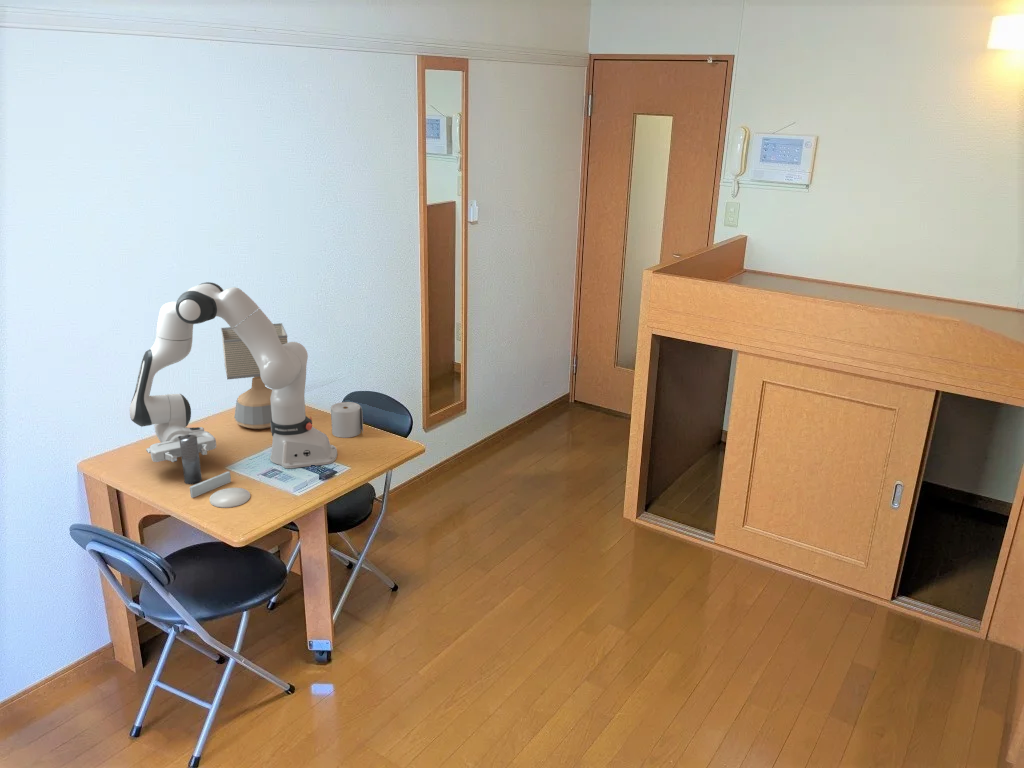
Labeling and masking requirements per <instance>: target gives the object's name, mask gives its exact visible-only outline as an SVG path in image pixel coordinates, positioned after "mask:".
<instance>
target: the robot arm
mask: <svg viewBox="0 0 1024 768" xmlns="http://www.w3.org/2000/svg"><path fill="white" fill-rule="evenodd" d="M216 317H218V318H221V319H223V320H224V322H226V323H227V325H228V327H231V328H233V331H234V332H235V333H236V334H237V335H238V336H239V338H240V339H241V340H242V341H243V343H244V344H245V345H246V346H247V348H248V349H249V351H250V352H251V354H252V356H253V358H254V360H255V362H256V364H257V366H258V368H259V370H260V376H261V380H262V381H263V383H264V384H265V387H267V388H269V389H272V393H271V398H270V400H271V413H272V419H271V427H270V432H271V436H272V442H271V443H272V446H271V453H270V456H269V459H270V461H271V462H272V463H273V464H277V465H279V466H282V467H283V468H284V469H295V468H296V469H297V468H304V467H305V468H306V467H312V466H311V465H315V466H323V465H330V464H332V463H333V462H335V461H336V459H337V458H338V457H337V456H338V449H337V447H336V446H335V445H333V444H331V442H330V440H329V437H328V435H327V434H326V433H324V432H322V431H321V430H319V429H317V428H315V427H314V426H313V419H312V416H310V417H308V416H306V404H305V403H306V402H305V401H306V400H305V391H306V382H307V381H306V379H307V365H308V364H307V363H308V357H309V354H308V350H307V349H306V347H305V346H304V345H303V344H301V343H300V342H297V341H289V342H288V343H285V344H283V345H282V343H281V342H280V340H279V338H278V335H277V332H276V328H275V326H274V325H273V324H274V323H273V322H272V321H271V319H269V318H268V316H267V315H266V314H265V313H264V311H263V310H262V309H261V308H260V307H259V305H258V304H257V303H256V302H255V301H254V300H253V299H252V298H251V297H250V296H249V295H248V294H246V293H245V292H244V291H243V290H242V289H240V288H238V287H236V286H233V287H228V288H226V289H223V287H221V285H219V284H218V283H215V282H209V281H208V282H207V281H206V282H202V283H200V284H198V285H195V286H191V287H190V288H189V289H187V290H186V291H185V292H183V293H181V295H180V296H179V297H178V298H177V300H176V301H169V302H166V303H164V304H163V305H162V306H161V307H160V309H159V313H158V318H157V321H156V323H157V324H156V330H155V331H156V335H155V340H154V343H153V344H152V346H151V347H150V349H148V350H145V352H144V354H143V356H142V357H143V358H142V361H141V363H140V367H139V371H138V375H137V376H138V377H137V381H136V385H135V390H134V394H133V397H132V398H131V401H130V402H131V403H130V406H129V418H130V420H131V421H132V422H133V423H134V424H136V425H137V426H139V427H141V428H142V427H148V426H153V425H154V427H153V429H154V433H155V435H156V437H157V439H158V440H159V442H156V443H153V444H151V445H150V446H149V447H146V449H145V451H146V452H147V453H148V454H150V458H151V460H152V462H154V463H158V462H159V463H160V462H163V461H169V462H170V461H171V462H172V463H174V462H175V463H176V462H178V458H180V457H181V458H182V456H181V448H180V440H179V439H180V437H182V436H185V435H195V436H197V442H198V451H199V453H200V455H202V456H206V455H208V451H212V450H215V449H216V448H217V441H216V437H215V436H214V435H213V434H211V433H210V432H209V431H206V430H205V428H204V427H202V426H200V427H199V426H198V427H188V425H189V423H190V422H191V419H192V418H191V417H192V409H191V404H190V402H189V400H188V398H186V397H185V396H184V395H183V394H182V393H171V394H169V393H167V394H161V395H160V394H156V395H150V394H151V391H152V386H153V383H154V378H155V375H156V374H157V373H158V372H159V371H160V370H163V369H165V368H166V367H169V366H171V365H174V364H177V363H179V362H181V361H183V360H184V359H186V357H188V356H189V355H190V352H191V351H192V347H193V333H194V325H196V324H197V325H199V324H202V323H204V322H207V321H210V320H213V319H215V318H216ZM234 327H235V328H234Z"/></svg>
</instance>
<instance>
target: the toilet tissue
mask: <svg viewBox="0 0 1024 768" xmlns="http://www.w3.org/2000/svg"><path fill="white" fill-rule="evenodd" d="M363 415H364V414H363V408H362V406H361V405H360V404H359V403H356V402H353V401H352V402H351V401H343V402H338V403H334V404H333V405H331V407H330V417H331V434H332V435H333V436H334V437H337V438H343V439H344V438H345V439H346V438H354V437H356V436H359V435H360V434H361V433H362V432H364V420H363V419H364V417H363Z"/></svg>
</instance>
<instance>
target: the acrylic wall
mask: <svg viewBox="0 0 1024 768" xmlns="http://www.w3.org/2000/svg"><path fill="white" fill-rule="evenodd" d="M229 483H232V479H231V471H225V472H223V473H221V474H218V475H215V476H213V477H211V478H208V479H206V480H203V481H201V482H199V483H197V484H192V485H191V486H189V493H190V494H189V495H190V498H191V499H192V498H196V497H198V496H200V495H203V494H206V493H209V492H211V491H213V490H215V489H217V488H221V487H222V486H225V485H227V484H229Z"/></svg>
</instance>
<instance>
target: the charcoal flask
mask: <svg viewBox="0 0 1024 768" xmlns="http://www.w3.org/2000/svg"><path fill="white" fill-rule="evenodd" d="M179 440H180V448H181V456H182V457H181V462H182V471H183V479H184V483H185V484H186V485H196V484H198V483H200V482H203V481H202V480H203V478H202V477H203V476H202V470H201V462H200V461H201V460H200V454H199V453H200V452H199V451H198V442H197V436H195V435H185V436H182V437H180V439H179Z"/></svg>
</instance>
